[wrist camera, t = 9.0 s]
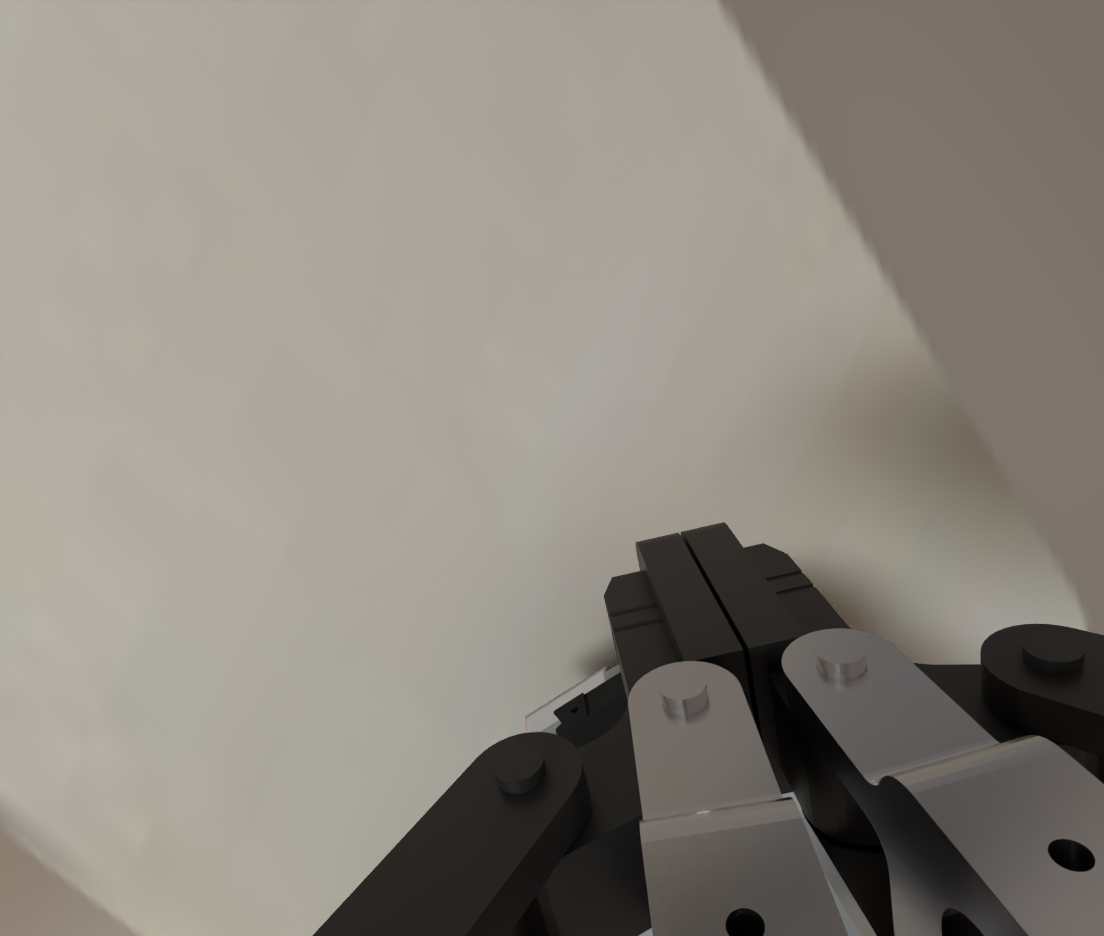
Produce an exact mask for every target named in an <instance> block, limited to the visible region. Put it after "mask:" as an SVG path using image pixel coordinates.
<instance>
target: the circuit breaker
mask: <svg viewBox="0 0 1104 936" xmlns="http://www.w3.org/2000/svg"><path fill="white" fill-rule="evenodd" d="M627 705H628V699H627V695H626V691H625V687H624V683H623V679H622V676H621V671H620V667H619V664H618V665H616V666H615V667H613V668H610V667H609V666H608V665H607V666H605V667H603V668H602V669H600V670H599V671H597V672H595V673H594V674H592V675H591V676H589V677H588V678H586V679H584V680H583V681H581V682H580V683H578V684H576V685H575V686H573V687H572V688H570V689H568V690H567V691H565V692H564V693H562V694H560V695H559V696H557V697H556V698H554V699H552V700H551V701H549V702H548V703H546V704H545V705H543V706H541V707H540V708H538V709H537V710H535V711H533V712H532V713H530V714H529V715H527V716H525V718H526V733H528V732H547V733H552V734H556V735H559V736H561V737H564V738H565V739H567V740H569V741H570V742H571V743H572V744H573V745H574V746H575V747H576V748H577V749H578V748H580V747H582V746H584V745H586V744H588V743H590V742H592V741H594V740H596V739H597V738H599V737H601V736H602V735H604V734H605V733H607V732H608V731H609V730H611V729H612V728H613V727H614V726H615V725H616V724H617V723H618V721H619V720H620V719H621V718H622V716H623V714H624V713H625V711H626V708H627ZM782 797H783V798H785V797H792V798H793V800H794V801H795V803H796V805H797V807H798V809H799V811H800V814H801V816H802V813H801V806H800V804H799V802H798V800H797V798H796V796H795V794H794V792H790V793H786V794H782ZM824 875H825V874H824ZM825 877H826V876H825ZM826 880H827V882H828V885H829V888H830V890H831V893H832V895H833V898H834V900H835V903H836V905H837V908H838V911H839V913H840V916H841V918H842V921H843V923H844V926H845V928H846V931H847V934H848V936H860V934H859V932H858V930H857V929H856V927H855V925H854V924H853V922H852V920H851V919H850V917H849V915H848V913H847V912H846V910H845V908H844V907H843V905H842V903H841V901H840V900H839V898H838V896H837V895H836V893H835V891H834V889H833V888H832V886H831V884H830V883H829V881H828V879H827V877H826ZM639 936H653V934H652V928H651V929H649V930H647V931H646V932H644V933H642V934H641V935H639Z"/></svg>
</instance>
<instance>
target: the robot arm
mask: <svg viewBox="0 0 1104 936" xmlns="http://www.w3.org/2000/svg"><path fill="white" fill-rule="evenodd" d="M636 551H637V557H638V562H639V567H640V571H639V572H635V573H630V574H626V575H621V576H617V577H612V579H611V581H610V583H609V586H608V588H607V590H606V592H605V594H604V599H605V603H606V608H607V612H608V617H609V622H610V626H611V631H612V635H613V640H614V644H615V649H616V653H617V658H618V662H619V667H620V671H621V676H622V679H623V683H624V687H625V691H626V695H627V699H628V705H627V708H626V711H625V713H624V714H623V716H622V718H621V719H620V720H619V721H618V723H617V724H616V725H615V726H614V727H613V728H612V729H611V730H609V731H608V732H607V733H605V734H604V735H602V736H601V737H599V738H597V739H596V740H594V741H592V742H590V743H588V744H586V745H584V746H582V747H580V748H578V749H577V748H576V747H575V746H574V745H573V744H572V743H571V742H570V741H569V740H567V739H565V738H564V737H561V736H559V735H556V734H552V733H547V732H528V733H523V734H518V735H515V736H511V737H508V738H506V739H504V740H501V741H499V742H498V743H496V744H494V745H492V746H491V747H489V748H488V749H487V750H485V751H484V752H483V753H482V754H481V755H480V756H478V757H477V758H476V759H475V761H474V762H473V763H472V764H471V765H470V766H469V767H468V768H467V769H466V770H465V771H464V772H463V773H462V775H461V776H460V777H459V778H458V779H457V780H456V781H455V782H454V783H453V784H452V785H451V786H450V788H449V789H448V790H447V791H446V792H445V793H444V794H443V795H442V796H441V797H440V798H439V799H438V801H437V802H436V803H435V804H434V805H433V806H432V807H431V808H430V809H429V810H428V811H427V812H426V814H425V815H424V816H423V817H422V818H421V819H420V820H419V821H418V822H417V823H416V824H415V825H414V827H413V828H412V829H411V830H410V831H409V832H408V833H407V834H406V835H405V836H404V837H403V838H402V839H401V841H400V842H399V843H398V844H397V845H396V846H395V847H394V848H393V849H392V850H391V851H390V852H389V854H388V855H387V856H386V857H385V858H384V859H383V860H382V861H381V862H380V863H379V864H378V865H377V867H376V868H375V869H374V870H373V871H372V872H371V873H370V874H369V875H368V876H367V877H366V878H365V880H364V881H363V882H362V883H361V884H360V885H359V886H358V887H357V888H356V889H355V890H354V891H353V893H352V894H351V895H350V896H349V897H348V898H347V899H346V900H345V901H344V902H343V903H342V904H341V905H340V907H339V908H338V909H337V910H336V911H335V912H334V913H333V914H332V915H331V916H330V917H329V918H328V920H327V921H326V922H325V923H324V924H323V925H322V926H321V927H320V928H319V929H318V930H317V931H316V933H315V934H314V935H313V936H639V935H641V934H642V933H644V932H646V931H647V930H649V929H651V928H652V934H653V936H848V934H847V931H846V928H845V926H844V923H843V921H842V918H841V916H840V913H839V911H838V908H837V905H836V903H835V900H834V898H833V895H832V893H831V890H830V888H829V885H828V882H827V880H826V877H827V879H828V881H829V883H830V884H831V886H832V888H833V889H834V891H835V893H836V895H837V896H838V898H839V900H840V901H841V903H842V905H843V907H844V908H845V910H846V912H847V913H848V915H849V917H850V919H851V920H852V922H853V924H854V925H855V927H856V929H857V930H858V932H859V934H860V936H1104V635H1100V634H1095V633H1091V632H1087V631H1083V630H1079V629H1074V628H1070V627H1064V626H1059V625H1050V624H1024V625H1017V626H1012V627H1008V628H1004V629H1002V630H999V631H997V632H995V633H993V634H992V635H990V636H989V637H988V638H987V639H986V640H985V641H984V643H983V645H982V646H981V652H980V653H981V665H928V664H916V663H912V662H911V661H910V660H909V659H908V658H907V657H906V656H905V655H904V654H903V653H902V652H900V651H899V650H898V649H897V648H896V647H895V646H894V645H893V644H891V643H890V642H889V641H887V640H885V639H883V638H882V637H880V636H877V635H875V634H872V633H869V632H865V631H861V630H855V629H850V628H849V627H848V625H847V624H846V623H845V622H844V621H843V620H842V618H841V617H840V616H839V615H838V614H837V612H836V611H835V610H834V609H833V608H832V606H831V605H830V604H829V603H828V602H827V601H826V599H825V598H824V597H823V596H822V595H821V593H820V592H819V591H818V590H817V589H816V587H815V588H814V587H813V584H812V583H811V582H810V580H809V579H808V578H807V577H806V576H805V574H802V572H801V570H800V568H799V567H798V566H797V565H796V564H795V562H794V561H793V560H792V559H791V558H790V557H789V555H788V554H786V553H784V552H781V551H779V550H777V549H775V548H773V547H770V546H768V545H766V544H764V543H763V544H758V545H754V546H750V547H745V548H743V547H742V545H741V544H740V542H739V541H738V540H737V538H736V537H735V535H734V534H733V533H732V531H731V530H730V529H729V527H728V526H727V524H726V523H724V522H723V523H719V524H714V525H710V526H705V527H701V528H697V529H692V530H688V531H683V532H681V536H680V534H679V533H675V534H671V535H666V536H662V537H657V538H653V539H648V540H644V541H640V542H636ZM790 792H794V794H795V796H796V798H797V800H798V802H799V804H800V806H801V813H802V816H801V814H800V811H799V809H798V807H797V805H796V803H795V801H794V800H793V798H792V797H785V798H783V797H782V794H786V793H790ZM824 874H825V875H824ZM825 876H826V877H825Z"/></svg>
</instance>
